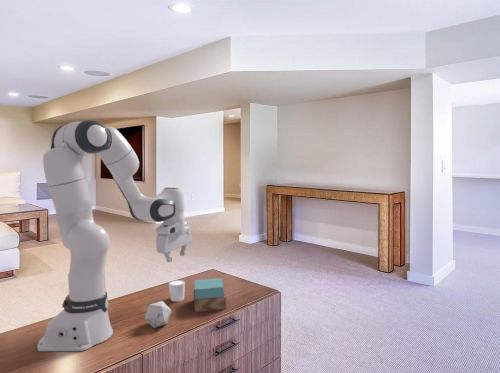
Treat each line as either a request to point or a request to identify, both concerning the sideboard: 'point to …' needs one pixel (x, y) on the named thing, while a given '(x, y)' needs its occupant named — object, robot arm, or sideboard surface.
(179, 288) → the white rimmed cylinder
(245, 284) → the sideboard surface
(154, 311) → the die
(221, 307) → the tower base block
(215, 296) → the tower top block
